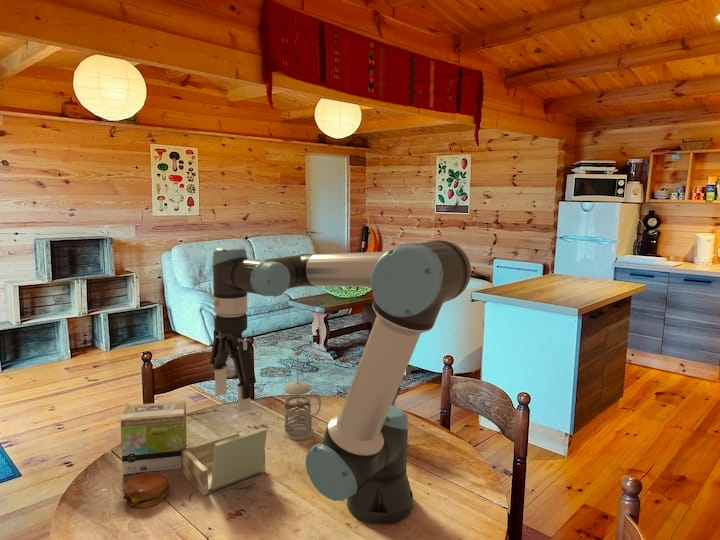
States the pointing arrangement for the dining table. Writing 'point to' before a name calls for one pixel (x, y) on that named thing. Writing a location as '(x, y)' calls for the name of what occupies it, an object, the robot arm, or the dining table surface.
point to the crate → (203, 462)
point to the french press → (302, 424)
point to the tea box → (153, 436)
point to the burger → (146, 490)
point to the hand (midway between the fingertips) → (232, 402)
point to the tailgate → (238, 458)
